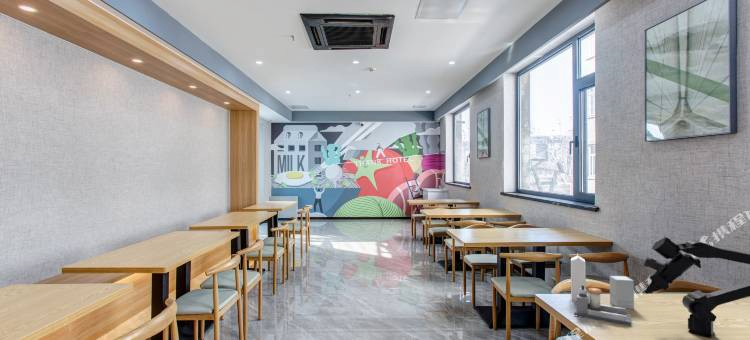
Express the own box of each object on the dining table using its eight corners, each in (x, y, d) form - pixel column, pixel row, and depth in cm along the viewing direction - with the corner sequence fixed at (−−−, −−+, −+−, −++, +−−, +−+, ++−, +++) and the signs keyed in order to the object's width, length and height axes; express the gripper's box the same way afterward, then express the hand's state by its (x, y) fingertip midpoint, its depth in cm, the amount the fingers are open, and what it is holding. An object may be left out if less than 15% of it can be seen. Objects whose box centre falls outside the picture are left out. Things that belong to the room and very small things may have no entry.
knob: (601, 310, 160) (601, 288, 160) (601, 314, 155) (601, 292, 155) (589, 307, 162) (588, 286, 162) (588, 312, 157) (587, 290, 157)
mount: (630, 317, 156) (630, 298, 156) (630, 326, 147) (630, 305, 147) (576, 308, 167) (576, 290, 167) (574, 315, 158) (574, 296, 158)
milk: (571, 300, 177) (570, 254, 177) (571, 296, 183) (570, 251, 183) (586, 302, 175) (585, 255, 175) (585, 298, 180) (584, 252, 180)
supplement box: (634, 308, 166) (634, 280, 166) (616, 307, 167) (616, 279, 167) (626, 303, 173) (626, 276, 173) (609, 302, 174) (609, 275, 174)
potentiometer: (587, 294, 161) (587, 285, 161) (586, 296, 159) (586, 287, 159) (579, 293, 163) (579, 284, 163) (578, 295, 161) (578, 285, 161)
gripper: (659, 249, 155) (631, 274, 161) (653, 252, 141) (622, 279, 147) (686, 270, 149) (655, 295, 155) (683, 275, 135) (649, 303, 141)
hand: (645, 292), depth 150 cm, fingers closed
